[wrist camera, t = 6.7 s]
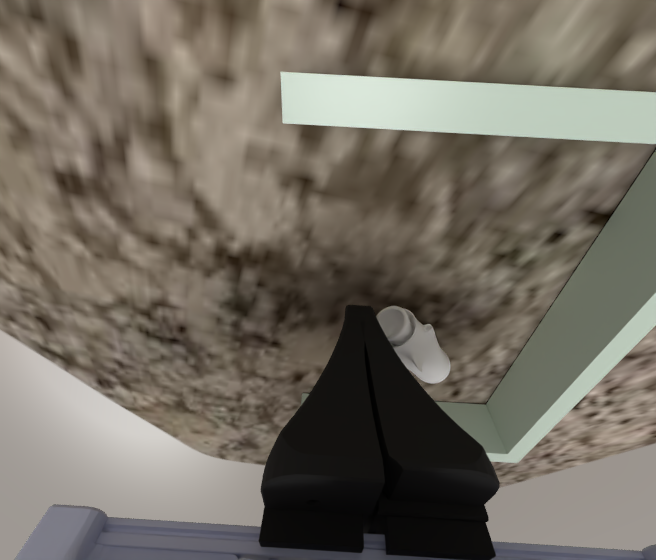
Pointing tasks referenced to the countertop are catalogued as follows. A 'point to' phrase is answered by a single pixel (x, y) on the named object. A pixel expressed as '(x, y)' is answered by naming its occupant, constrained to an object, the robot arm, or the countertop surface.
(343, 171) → the countertop surface
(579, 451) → the countertop surface
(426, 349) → the small white plastic part
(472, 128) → the light green u-shaped bracket
